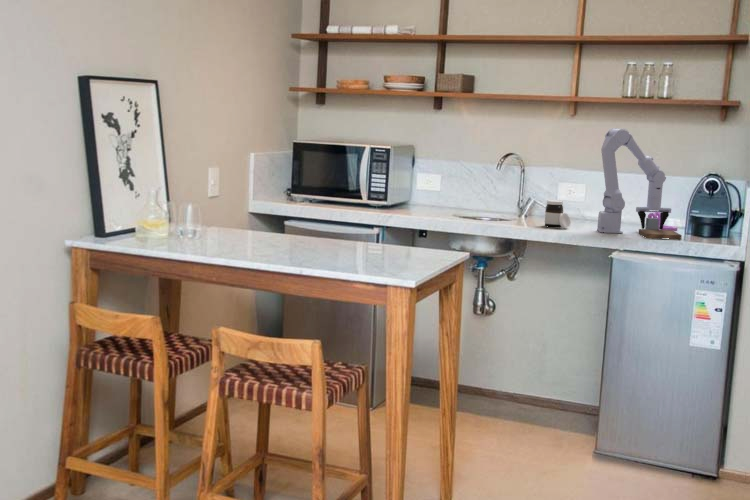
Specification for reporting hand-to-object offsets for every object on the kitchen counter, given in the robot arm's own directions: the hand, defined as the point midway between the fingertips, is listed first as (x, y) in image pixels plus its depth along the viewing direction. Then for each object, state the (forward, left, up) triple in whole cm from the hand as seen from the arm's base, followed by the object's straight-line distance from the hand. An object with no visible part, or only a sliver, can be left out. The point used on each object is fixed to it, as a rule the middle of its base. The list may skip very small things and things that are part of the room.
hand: (651, 228), depth 368 cm
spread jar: (-40, +4, -2) cm, 40 cm away
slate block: (0, 0, -2) cm, 2 cm away
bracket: (+8, +12, -2) cm, 15 cm away
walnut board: (0, -13, -2) cm, 13 cm away
